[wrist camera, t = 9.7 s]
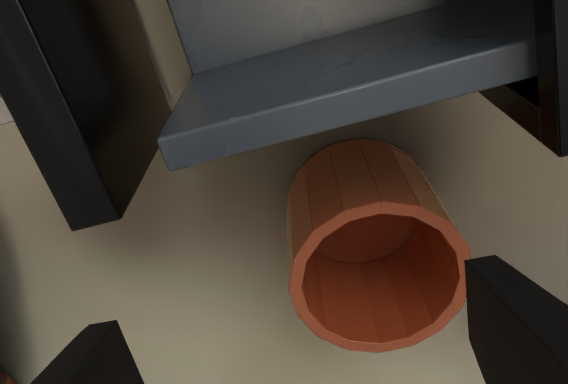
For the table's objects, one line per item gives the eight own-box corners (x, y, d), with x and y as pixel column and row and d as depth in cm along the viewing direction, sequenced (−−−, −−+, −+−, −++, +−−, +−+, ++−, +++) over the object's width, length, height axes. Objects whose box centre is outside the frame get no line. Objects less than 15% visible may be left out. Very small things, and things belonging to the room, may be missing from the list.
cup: (437, 246, 21) (481, 331, 17) (306, 277, 22) (314, 367, 17) (416, 121, 19) (460, 182, 14) (270, 159, 19) (268, 228, 15)
